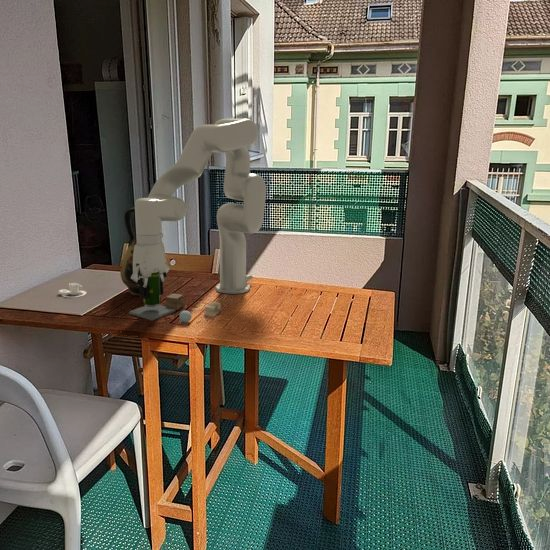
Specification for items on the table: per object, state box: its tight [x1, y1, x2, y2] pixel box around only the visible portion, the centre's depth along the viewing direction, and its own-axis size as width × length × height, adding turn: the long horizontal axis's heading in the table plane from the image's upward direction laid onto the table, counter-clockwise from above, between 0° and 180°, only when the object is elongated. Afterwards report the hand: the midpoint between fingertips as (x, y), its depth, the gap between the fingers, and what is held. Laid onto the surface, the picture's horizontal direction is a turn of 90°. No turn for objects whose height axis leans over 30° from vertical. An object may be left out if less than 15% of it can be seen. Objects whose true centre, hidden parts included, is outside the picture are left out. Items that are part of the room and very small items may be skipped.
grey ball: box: [178, 310, 192, 323], centre depth 147 cm, size 4×4×4 cm
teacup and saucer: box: [57, 282, 87, 299], centre depth 170 cm, size 9×8×4 cm
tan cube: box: [165, 293, 185, 311], centre depth 160 cm, size 4×4×4 cm
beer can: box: [142, 268, 162, 307], centre depth 152 cm, size 5×5×12 cm
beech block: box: [204, 301, 221, 317], centre depth 155 cm, size 5×3×3 cm, turn 162°
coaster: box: [128, 304, 176, 321], centre depth 154 cm, size 10×10×1 cm
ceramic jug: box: [119, 206, 140, 297], centre depth 171 cm, size 17×15×30 cm
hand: (151, 295), depth 153 cm, fingers closed on beer can, 5 cm apart
